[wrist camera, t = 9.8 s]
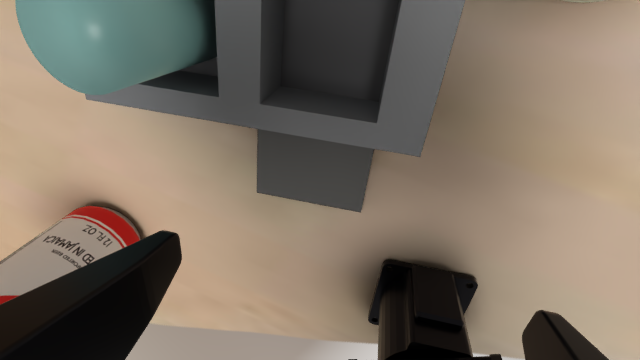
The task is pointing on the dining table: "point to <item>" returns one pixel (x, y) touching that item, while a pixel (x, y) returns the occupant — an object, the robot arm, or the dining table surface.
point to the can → (583, 1)
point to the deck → (312, 170)
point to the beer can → (65, 249)
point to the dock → (316, 70)
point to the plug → (117, 39)
